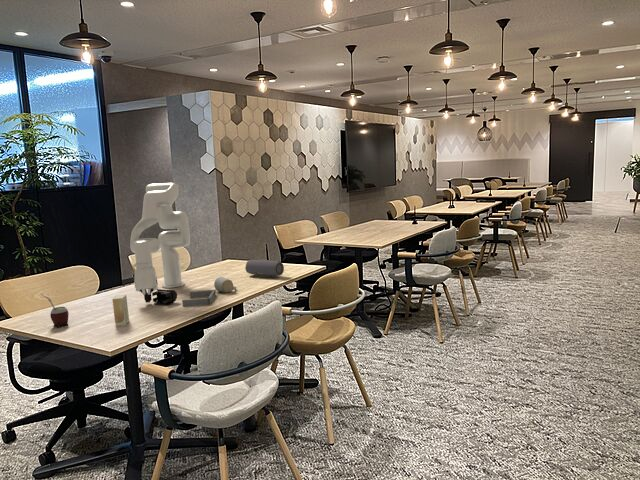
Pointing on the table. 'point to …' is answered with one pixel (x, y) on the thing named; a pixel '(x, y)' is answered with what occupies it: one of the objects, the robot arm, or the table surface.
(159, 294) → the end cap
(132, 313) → the table surface
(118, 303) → the skincare box
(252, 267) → the bluetooth speaker
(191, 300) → the tray
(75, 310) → the table surface
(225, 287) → the ceramic mug
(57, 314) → the mate gourd
